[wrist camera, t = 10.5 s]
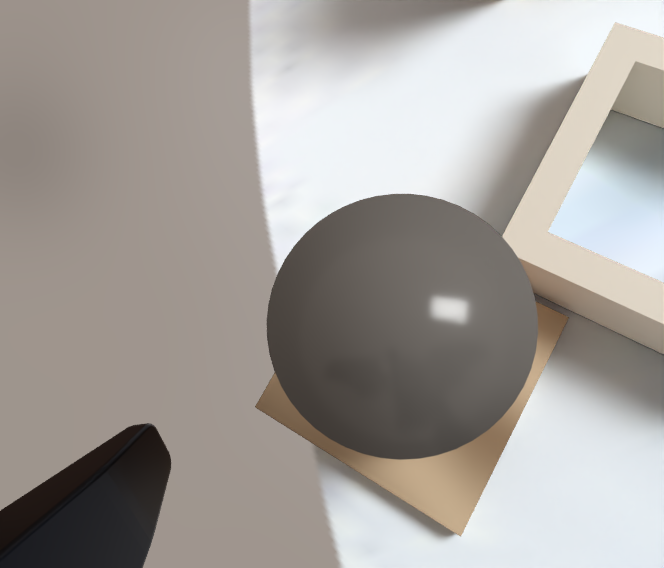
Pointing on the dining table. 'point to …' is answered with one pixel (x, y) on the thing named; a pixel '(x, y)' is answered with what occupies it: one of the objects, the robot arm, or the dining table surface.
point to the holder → (559, 174)
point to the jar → (402, 326)
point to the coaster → (436, 471)
